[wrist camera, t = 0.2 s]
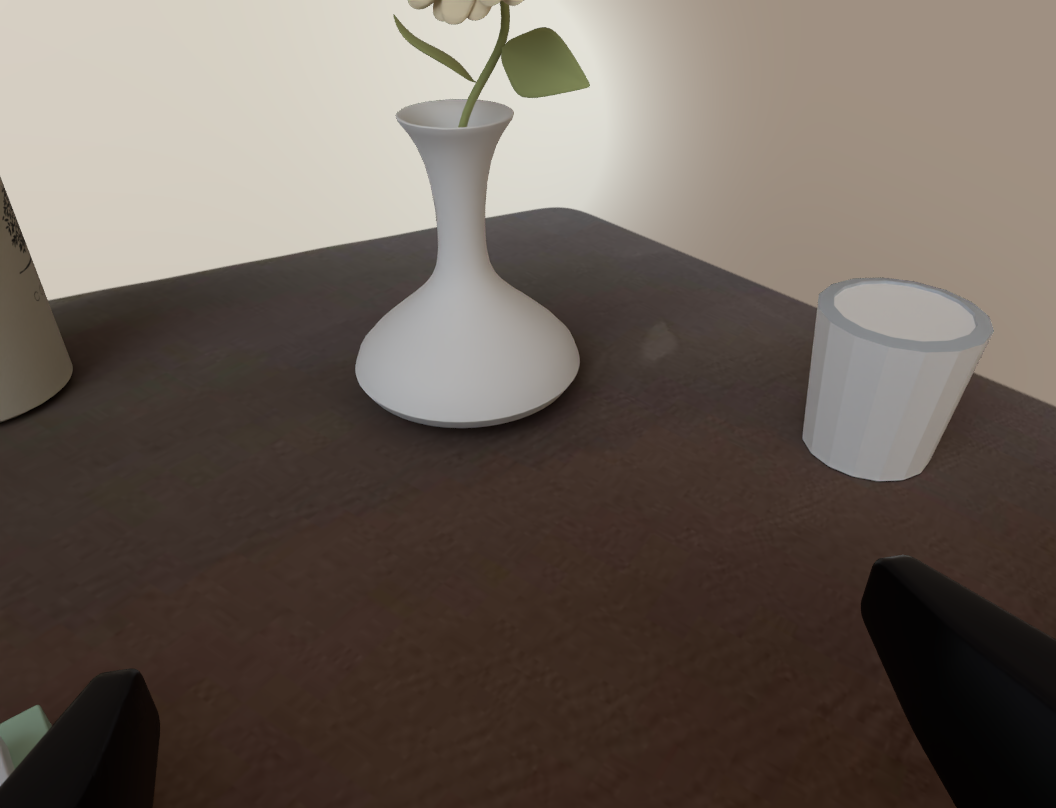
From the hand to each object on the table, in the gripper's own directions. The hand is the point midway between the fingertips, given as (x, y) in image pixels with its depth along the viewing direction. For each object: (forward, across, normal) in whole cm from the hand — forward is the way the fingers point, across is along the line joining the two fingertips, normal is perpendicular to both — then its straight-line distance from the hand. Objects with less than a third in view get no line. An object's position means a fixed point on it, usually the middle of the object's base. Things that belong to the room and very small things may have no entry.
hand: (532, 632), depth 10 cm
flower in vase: (+28, -2, +14) cm, 31 cm away
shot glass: (+20, -20, +14) cm, 31 cm away
